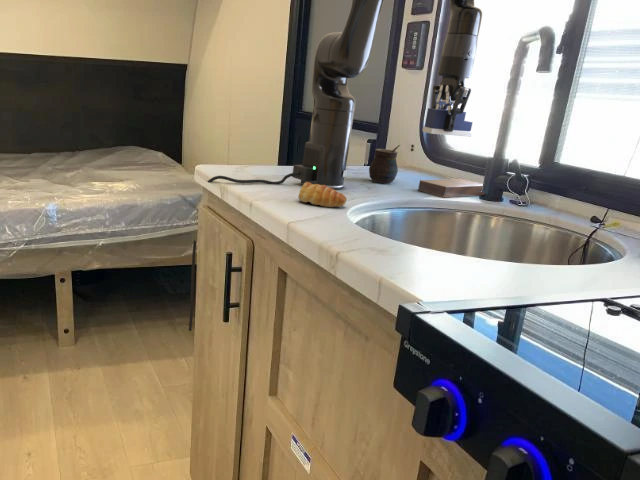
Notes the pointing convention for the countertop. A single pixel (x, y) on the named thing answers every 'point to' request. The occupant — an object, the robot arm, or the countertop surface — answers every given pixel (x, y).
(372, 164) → the mate gourd
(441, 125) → the navy stepped block
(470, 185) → the shelf board
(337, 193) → the pastry
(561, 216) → the countertop surface
